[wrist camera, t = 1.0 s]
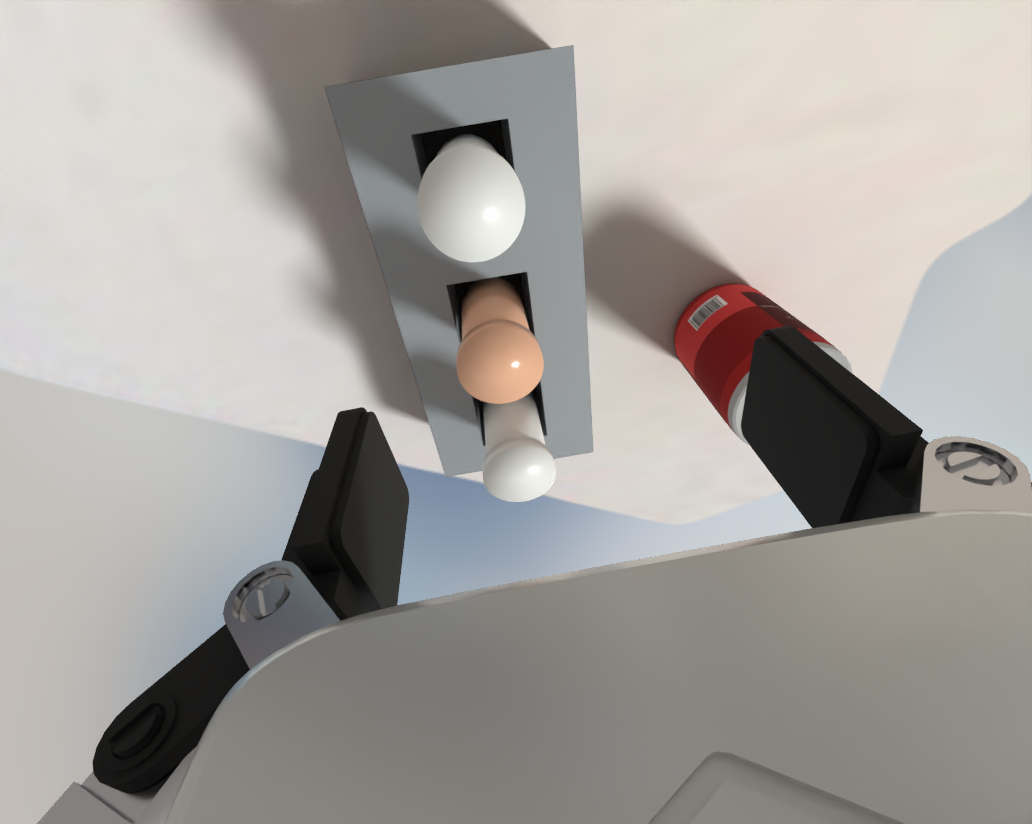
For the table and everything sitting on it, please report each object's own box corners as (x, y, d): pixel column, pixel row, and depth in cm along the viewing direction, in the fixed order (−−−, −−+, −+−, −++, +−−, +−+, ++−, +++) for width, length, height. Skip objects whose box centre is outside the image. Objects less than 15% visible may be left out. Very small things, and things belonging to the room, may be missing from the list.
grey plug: (473, 383, 35) (477, 455, 28) (535, 373, 35) (552, 442, 28) (484, 431, 37) (489, 506, 31) (541, 422, 37) (558, 495, 31)
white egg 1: (417, 135, 25) (404, 157, 19) (502, 121, 25) (518, 138, 19) (437, 223, 28) (431, 270, 22) (514, 210, 28) (531, 253, 22)
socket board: (348, 83, 27) (324, 86, 22) (552, 49, 27) (573, 44, 22) (447, 430, 43) (445, 476, 38) (578, 408, 43) (593, 452, 38)
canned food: (661, 369, 41) (717, 451, 32) (683, 280, 36) (755, 347, 28) (745, 367, 42) (822, 447, 33) (777, 279, 37) (876, 345, 28)
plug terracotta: (450, 279, 30) (448, 336, 24) (521, 267, 30) (538, 321, 24) (464, 342, 33) (466, 409, 26) (529, 331, 33) (547, 396, 26)
